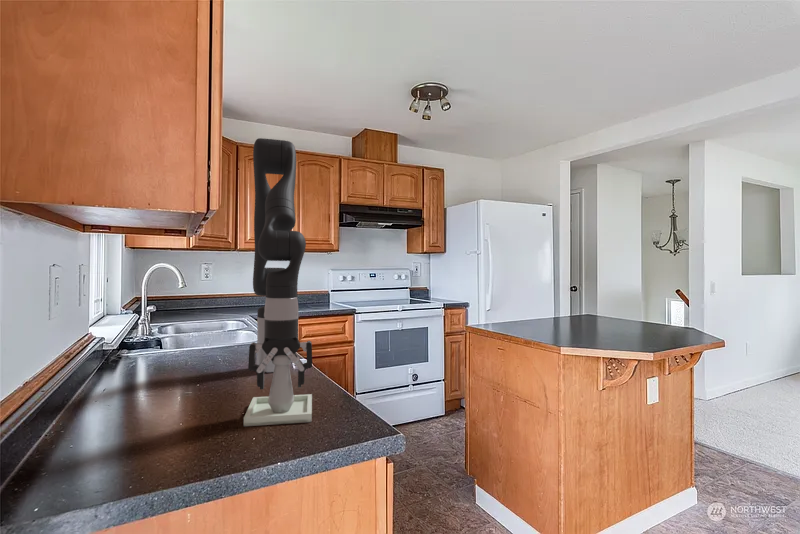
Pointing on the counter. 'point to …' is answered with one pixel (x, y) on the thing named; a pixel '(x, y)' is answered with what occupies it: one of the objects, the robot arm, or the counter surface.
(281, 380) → the salt shaker
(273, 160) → the robot arm
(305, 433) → the counter surface
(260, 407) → the tray
